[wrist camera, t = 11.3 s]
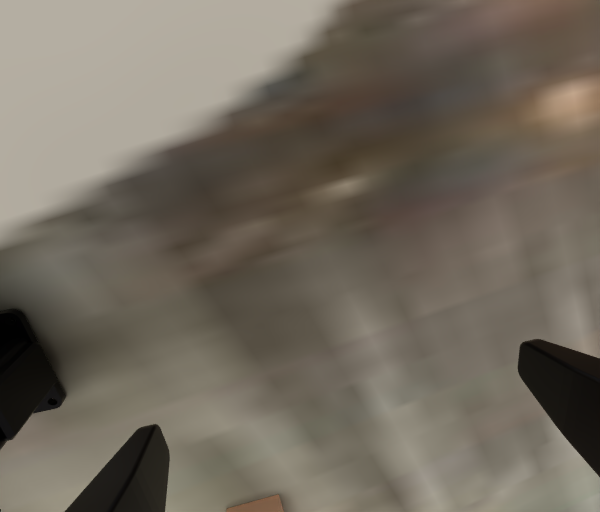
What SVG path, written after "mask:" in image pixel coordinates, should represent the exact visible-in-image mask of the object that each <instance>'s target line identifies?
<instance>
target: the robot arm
mask: <svg viewBox="0 0 600 512" xmlns="http://www.w3.org/2000/svg"><path fill="white" fill-rule="evenodd" d="M10 317H12V318H14V319H15V320H16V321H12V320H11V319H10ZM518 372H519V375H520V377H521V379H522V380H523V382H524V383H525V384H526V386H527V387H528V388H529V390H530V391H531V392H532V394H533V395H534V396H535V398H536V399H537V401H538V402H539V403H540V405H541V406H542V407H543V409H544V410H545V411H546V413H547V414H548V416H549V417H550V418H551V420H552V421H553V422H554V424H555V425H556V426H557V428H558V429H559V430H560V431H561V433H562V434H563V435H564V436H565V438H566V439H567V440H568V441H569V442H570V444H571V445H572V446H573V447H574V448H575V449H576V450H577V452H578V453H579V454H580V455H581V456H582V457H583V458H584V460H585V461H586V462H587V463H588V464H589V465H590V466H591V468H592V469H593V470H594V471H595V472H596V473H597V474H598V476H599V477H600V358H596V357H593V356H590V355H587V354H584V353H581V352H578V351H575V350H572V349H569V348H566V347H563V346H559V345H556V344H553V343H550V342H547V341H544V340H541V339H534V340H529V341H525V342H523V343H522V344H521V345H520V350H519V360H518ZM52 398H54V399H56V400H53V399H52ZM64 400H65V394H64V392H63V390H62V388H61V386H60V384H59V382H58V380H57V377H56V375H55V373H54V371H53V369H52V367H51V365H50V363H49V361H48V359H47V357H46V355H45V353H44V351H43V349H42V347H41V346H40V344H39V343H38V341H37V339H36V337H35V335H34V333H33V331H32V329H31V327H30V325H29V323H28V321H27V319H26V317H25V315H24V314H23V312H21V311H19V310H16V309H9V310H4V311H0V450H1V448H2V447H3V446H4V444H5V443H6V442H7V441H8V440H12V439H13V438H14V437H15V436H16V435H17V433H18V432H19V431H20V429H21V428H22V427H23V425H24V424H25V423H26V421H27V420H28V419H29V417H30V416H31V415H32V413H37V412H41V411H46V410H51V409H55V408H58V407H60V406H61V405H62V403H63V402H64ZM169 461H170V455H169V449H168V446H167V444H166V441H165V439H164V436H163V434H162V431H161V429H160V427H159V426H158V425H157V424H153V425H149V426H144V427H141V428H139V429H138V430H136V432H135V433H134V434H133V435H132V436H131V437H130V438H129V439H128V441H127V442H126V443H125V444H124V445H123V446H122V447H121V448H120V450H119V451H118V452H117V453H116V454H115V455H114V456H113V458H112V459H111V460H110V461H109V462H108V463H107V464H106V465H105V467H104V468H103V469H102V470H101V471H100V472H99V473H98V475H97V476H96V477H95V478H94V479H93V480H92V481H91V482H90V484H89V485H88V486H87V487H86V488H85V489H84V490H83V491H82V493H81V494H80V495H79V496H78V497H77V498H76V499H75V501H74V502H73V503H72V504H71V505H70V506H69V507H68V508H67V510H66V511H65V512H165V505H166V494H167V483H168V472H169ZM0 512H1V509H0Z"/></svg>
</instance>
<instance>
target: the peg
mask: <svg viewBox="0 0 600 512" xmlns="http://www.w3.org/2000/svg"><path fill="white" fill-rule="evenodd" d="M227 512H284V510H283V507H282V504H281V501H280V497H279V494H278V495H274V496H271V497H267V498H264V499H260V500H256V501H253V502H249V503H245V504H242V505H238V506H235V507H231V508H227Z"/></svg>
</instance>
